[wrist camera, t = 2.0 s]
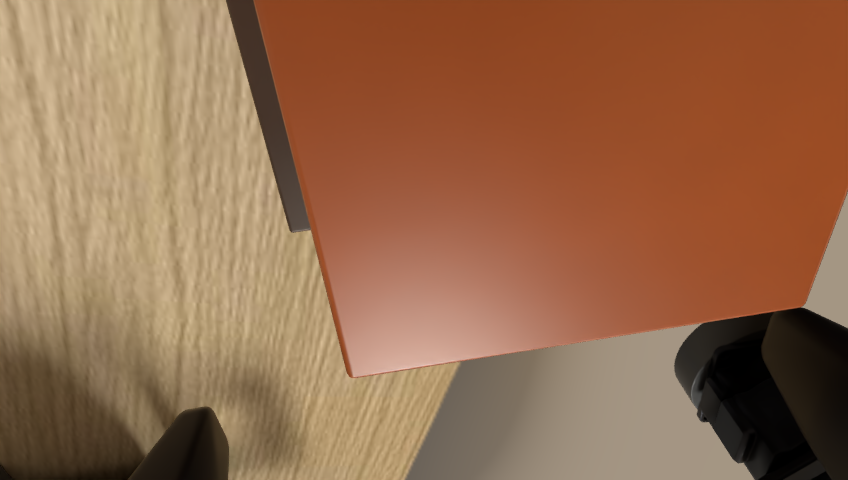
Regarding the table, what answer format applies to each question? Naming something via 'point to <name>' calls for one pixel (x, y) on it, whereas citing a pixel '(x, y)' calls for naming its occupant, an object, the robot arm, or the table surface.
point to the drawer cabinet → (4, 475)
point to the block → (558, 164)
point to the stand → (268, 110)
